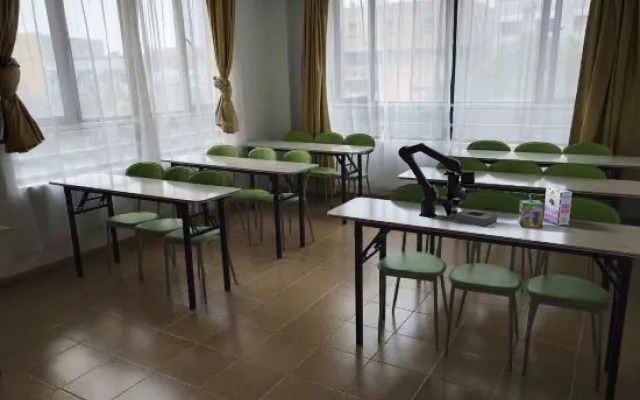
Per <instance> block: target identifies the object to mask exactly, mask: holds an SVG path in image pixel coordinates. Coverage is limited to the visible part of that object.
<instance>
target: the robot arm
mask: <svg viewBox="0 0 640 400" xmlns="http://www.w3.org/2000/svg"><path fill="white" fill-rule="evenodd" d="M419 152H421V153H422V154H425V155H426V156H429V157H430V158H431V159H433V160H436V161H437V162H439V163H441V164H442V165H443V166H444V167H445V168H446V169H447V170H446V171H445V172H443V176H447V182H446V183H447V185H445V189H446V193H445V194H444V195H443V196H440V197H439V191H440V190H439V189H437V187H436V184H433V185H432V184H431V183H430V182H429V180H428V179H427V177H426V176H425V174H424V172H423V171H422V170H421V168H420V166H419V164H418V163H417V161H416V158H415V155H414V154H416V153H419ZM397 154H398V156H399V157H400V159H401V160H402V162H403V161H404V163H406V164H407V165H408V166H409V169H410V170H411V172H412V173H413V175H414V176H415V178H416V180H417V182H418V183H419V185H420V186H421V188H422V192H423V195H424V197H423V198H422V199H421V201H420V203H421V204H420V213H419V214H418V216H420V217H425V218H432V217H436V216H437V214H436V204H435V202H436V201H437V203H438V204H441V205H442V206H443V208H444V210H445V213H447V215H448V216H450V212H451V206H452V205H456V206H457V209H458V208H459V207H460V203H462V202H466V201H468V200H469V198H470V197H471V190H470V189H465V190H463V189H462V187H461V185H460V183H461V184H462V186H464V185H465V186H475V185H476V184H475V181H476V177H475V176H476V174H475V173H476V172H475V171H473V170H472V171H468V170H467V171H466V170H464V169H463V168H462V166H461V161H460V160H459V159H458V158H455V157H452V156H450V155H445V154H443V153H441V152H439V151H438V150H436V149H434V148H433V147H430V146H428V145H426V144H425V143H424V142H420V143H417V144H414V145H410V146H409V145H403V146H401V147H400V148H399V149H398V152H397ZM458 210H459V209H458Z"/></svg>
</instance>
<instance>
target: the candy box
mask: <svg viewBox="0 0 640 400" xmlns="http://www.w3.org/2000/svg"><path fill="white" fill-rule="evenodd" d="M572 197H573V191H570V190H567V189H565V188H562V187H560V186H546V187H545V197H544V208H543V220H546V221H547V222H549V223H552V224H553V225H556V226H558V227H559V226H561V227H562V226H563V227H564V226H570V220H571V219H570V218H571V207H572V199H573V198H572Z"/></svg>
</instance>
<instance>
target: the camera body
mask: <svg viewBox="0 0 640 400" xmlns="http://www.w3.org/2000/svg"><path fill="white" fill-rule="evenodd" d="M497 221H498V214H497V213H492V212H486V211H482V210H481V211H480V210H474V209H468V208H466V209H464V210H461V211H458V213H455V219H454V222H456V223H462V224H467V225H471V226H477V227H482V228H487V227H489V226H491V225H494V224H496V223H497Z"/></svg>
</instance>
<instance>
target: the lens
mask: <svg viewBox="0 0 640 400" xmlns="http://www.w3.org/2000/svg"><path fill="white" fill-rule="evenodd" d="M458 210H459V209H457V206H456V205H452V206H451V212H450V216H448V215H447V213H446V212H445V213H446V214H445V217H446V218H447V219H454V220H455V213H458V212H459V211H458Z"/></svg>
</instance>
